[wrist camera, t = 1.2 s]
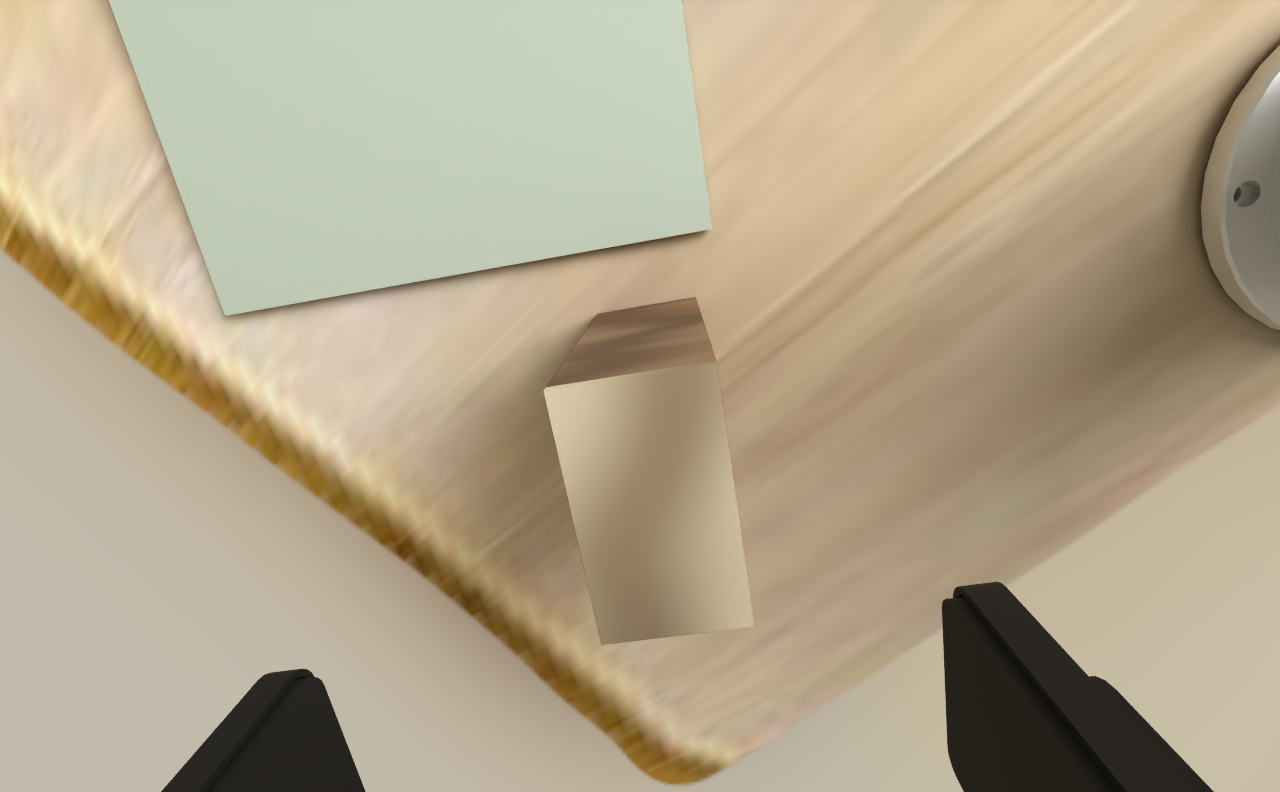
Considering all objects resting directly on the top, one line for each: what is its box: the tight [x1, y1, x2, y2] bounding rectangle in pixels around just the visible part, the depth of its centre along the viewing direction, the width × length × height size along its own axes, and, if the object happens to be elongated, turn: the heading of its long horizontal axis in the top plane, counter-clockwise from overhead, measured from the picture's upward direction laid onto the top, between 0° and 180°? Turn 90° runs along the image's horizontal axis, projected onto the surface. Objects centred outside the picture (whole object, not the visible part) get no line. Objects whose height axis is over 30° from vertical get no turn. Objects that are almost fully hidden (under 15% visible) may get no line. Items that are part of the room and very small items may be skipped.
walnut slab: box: [544, 297, 755, 645], centre depth 20 cm, size 4×7×11 cm, turn 10°
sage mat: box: [109, 0, 712, 316], centre depth 22 cm, size 20×16×1 cm
